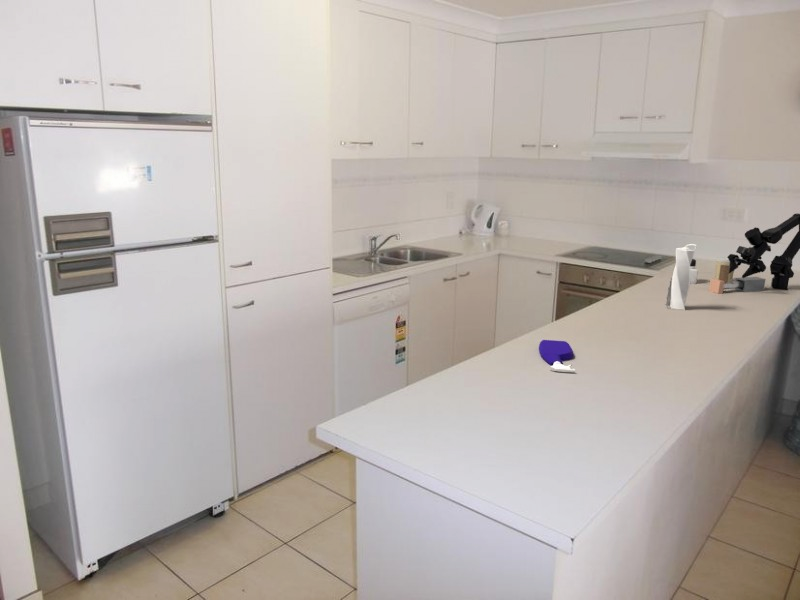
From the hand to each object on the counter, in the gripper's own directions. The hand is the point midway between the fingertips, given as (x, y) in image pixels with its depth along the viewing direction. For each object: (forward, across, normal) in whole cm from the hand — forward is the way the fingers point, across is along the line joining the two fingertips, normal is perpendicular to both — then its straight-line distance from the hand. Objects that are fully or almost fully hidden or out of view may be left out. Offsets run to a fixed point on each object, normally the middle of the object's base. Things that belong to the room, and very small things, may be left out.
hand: (734, 275), depth 298 cm
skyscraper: (+41, +20, -30) cm, 54 cm away
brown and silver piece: (+6, 0, +4) cm, 7 cm away
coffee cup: (-3, -19, +15) cm, 24 cm away
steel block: (-2, 0, +13) cm, 13 cm away
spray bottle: (+101, +66, -90) cm, 151 cm away
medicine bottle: (+11, -22, 0) cm, 25 cm away
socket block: (+12, 0, -2) cm, 12 cm away
